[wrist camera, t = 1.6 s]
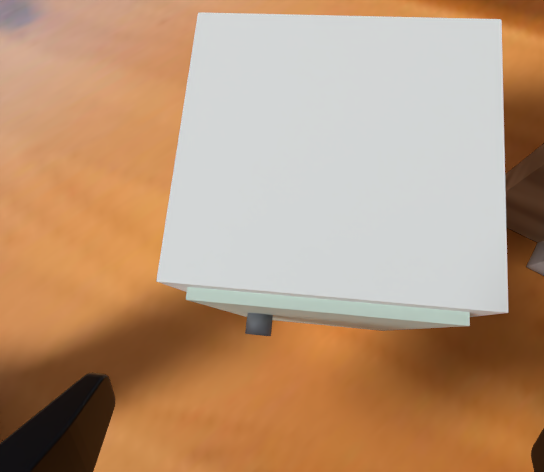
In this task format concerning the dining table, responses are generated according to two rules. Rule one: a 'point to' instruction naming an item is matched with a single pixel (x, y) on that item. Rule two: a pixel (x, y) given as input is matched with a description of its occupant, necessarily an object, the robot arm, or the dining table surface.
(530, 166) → the wall board
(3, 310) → the dining table surface
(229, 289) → the white notched pillar
